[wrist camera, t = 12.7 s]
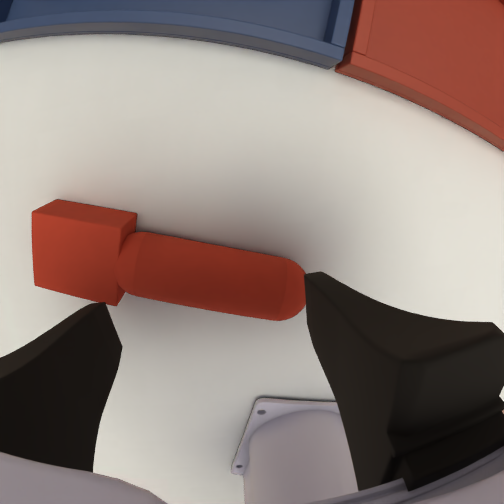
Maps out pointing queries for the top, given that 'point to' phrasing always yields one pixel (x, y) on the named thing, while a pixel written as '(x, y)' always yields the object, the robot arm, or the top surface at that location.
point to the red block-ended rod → (156, 265)
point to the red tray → (434, 57)
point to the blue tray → (194, 23)
